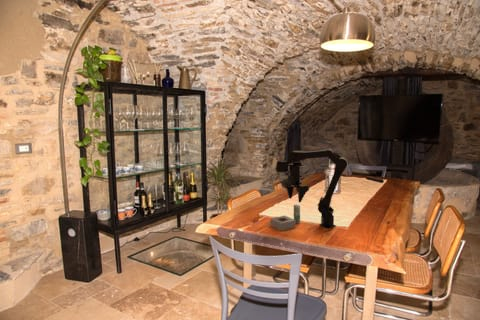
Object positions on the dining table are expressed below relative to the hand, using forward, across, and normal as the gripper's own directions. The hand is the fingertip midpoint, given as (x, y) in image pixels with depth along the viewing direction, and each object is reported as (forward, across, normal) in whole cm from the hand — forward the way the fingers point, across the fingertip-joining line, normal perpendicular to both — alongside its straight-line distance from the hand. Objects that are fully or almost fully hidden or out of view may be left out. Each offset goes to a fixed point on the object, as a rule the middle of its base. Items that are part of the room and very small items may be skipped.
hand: (295, 200), depth 183 cm
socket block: (+13, +2, -10) cm, 16 cm away
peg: (+13, +1, +1) cm, 13 cm away
